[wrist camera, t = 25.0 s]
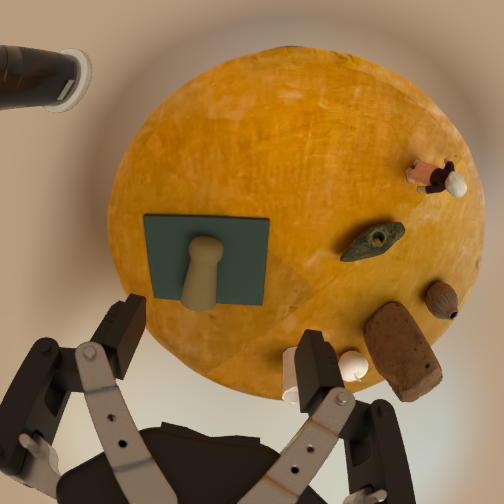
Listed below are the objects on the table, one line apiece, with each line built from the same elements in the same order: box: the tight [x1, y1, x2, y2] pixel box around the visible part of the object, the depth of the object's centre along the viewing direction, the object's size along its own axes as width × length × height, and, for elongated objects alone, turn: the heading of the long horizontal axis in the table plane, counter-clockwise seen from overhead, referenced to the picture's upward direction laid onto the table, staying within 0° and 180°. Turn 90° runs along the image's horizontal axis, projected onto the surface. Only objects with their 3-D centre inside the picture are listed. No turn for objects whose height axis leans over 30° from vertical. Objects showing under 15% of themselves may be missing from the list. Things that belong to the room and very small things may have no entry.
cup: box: [282, 346, 300, 404], centre depth 51 cm, size 7×7×11 cm
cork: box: [180, 236, 223, 311], centre depth 42 cm, size 6×6×11 cm
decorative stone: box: [340, 222, 405, 262], centre depth 41 cm, size 11×8×5 cm
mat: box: [143, 214, 270, 306], centre depth 45 cm, size 20×16×1 cm
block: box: [363, 302, 443, 402], centre depth 42 cm, size 11×8×20 cm
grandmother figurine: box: [405, 158, 467, 198], centre depth 32 cm, size 8×4×13 cm, turn 150°
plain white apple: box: [338, 351, 368, 382], centre depth 53 cm, size 7×7×8 cm
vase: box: [426, 282, 458, 320], centre depth 44 cm, size 7×7×9 cm
